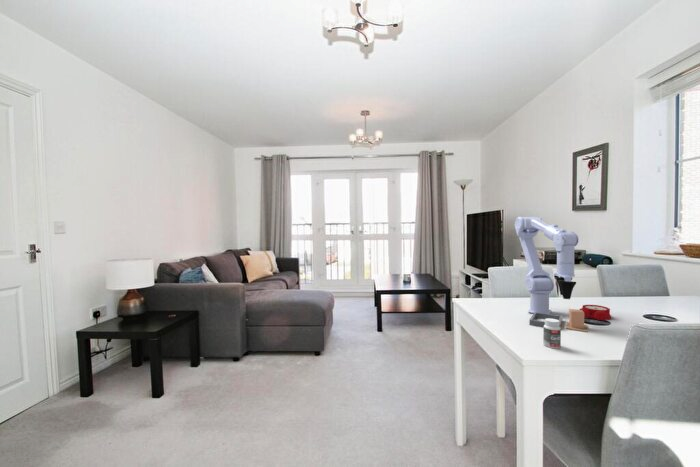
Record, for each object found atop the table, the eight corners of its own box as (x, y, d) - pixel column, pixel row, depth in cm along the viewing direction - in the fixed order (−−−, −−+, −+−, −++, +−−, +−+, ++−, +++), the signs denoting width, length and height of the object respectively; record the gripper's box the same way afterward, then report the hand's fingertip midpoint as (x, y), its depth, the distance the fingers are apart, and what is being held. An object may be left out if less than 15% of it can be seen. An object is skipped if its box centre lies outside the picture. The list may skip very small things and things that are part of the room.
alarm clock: (614, 307, 137) (607, 306, 127) (613, 322, 136) (606, 322, 126) (585, 303, 145) (575, 301, 135) (584, 317, 144) (574, 316, 134)
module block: (569, 324, 125) (569, 308, 125) (581, 325, 123) (581, 309, 123) (571, 327, 121) (571, 311, 121) (584, 328, 119) (584, 312, 119)
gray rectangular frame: (534, 316, 136) (534, 312, 136) (562, 320, 130) (562, 315, 130) (529, 324, 126) (529, 319, 125) (560, 329, 120) (560, 324, 120)
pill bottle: (552, 349, 101) (552, 322, 101) (539, 343, 106) (540, 318, 105) (564, 347, 102) (564, 321, 102) (551, 342, 107) (552, 317, 107)
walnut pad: (567, 323, 128) (567, 322, 128) (587, 325, 124) (587, 324, 124) (566, 329, 120) (566, 327, 120) (587, 332, 117) (587, 331, 117)
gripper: (551, 260, 135) (551, 292, 136) (555, 264, 122) (555, 299, 123) (571, 261, 132) (571, 294, 133) (578, 265, 119) (577, 301, 120)
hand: (565, 296), depth 127 cm, fingers open, 7 cm apart
